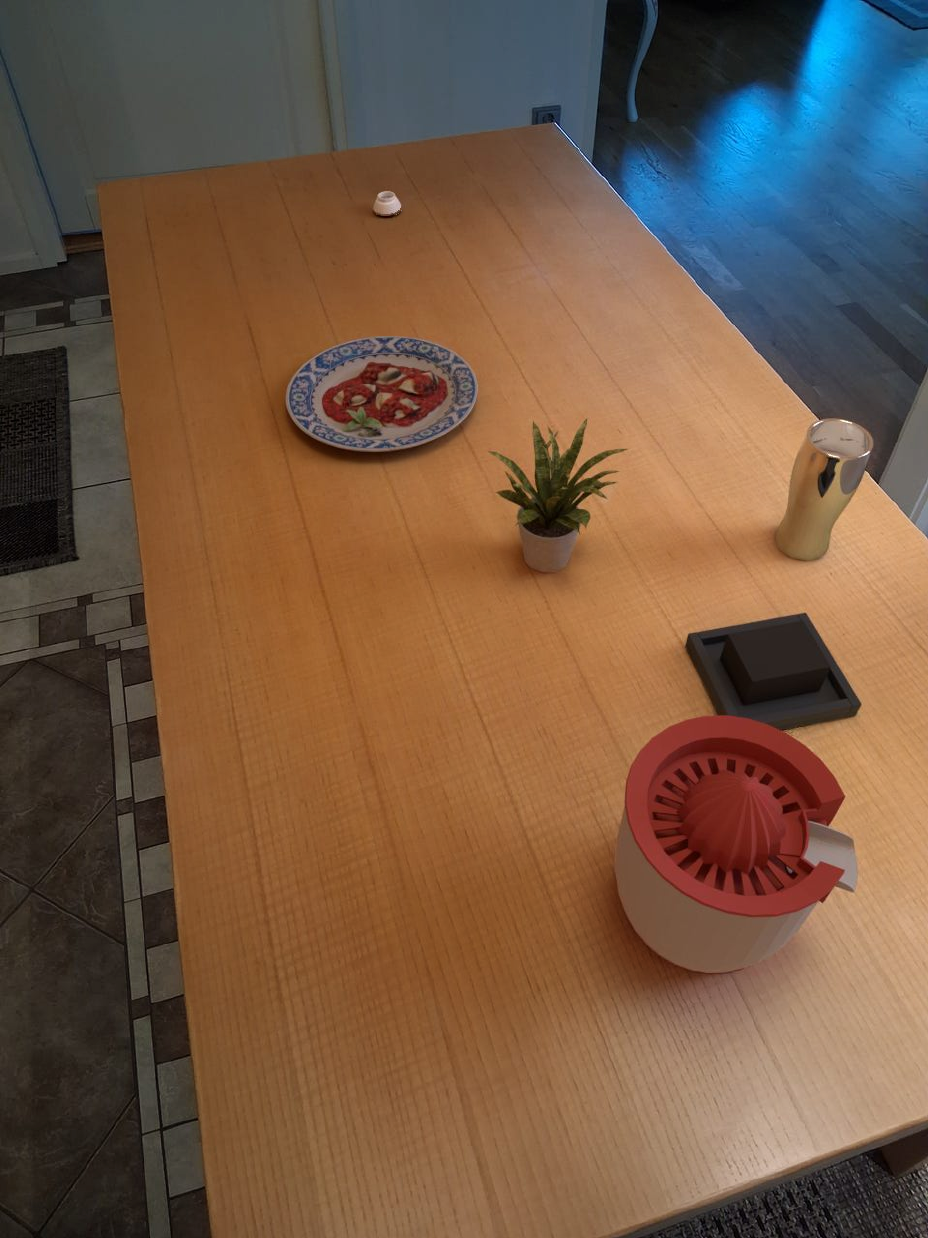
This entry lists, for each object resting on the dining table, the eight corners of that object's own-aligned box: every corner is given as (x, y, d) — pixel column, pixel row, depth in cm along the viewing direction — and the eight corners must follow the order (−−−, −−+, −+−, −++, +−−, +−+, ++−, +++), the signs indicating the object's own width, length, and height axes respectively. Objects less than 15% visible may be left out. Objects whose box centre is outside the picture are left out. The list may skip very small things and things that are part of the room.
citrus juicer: (809, 1031, 69) (901, 932, 54) (585, 971, 72) (612, 861, 57) (815, 849, 78) (894, 721, 63) (617, 803, 82) (647, 670, 67)
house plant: (646, 563, 101) (668, 449, 89) (559, 626, 95) (570, 513, 83) (556, 500, 108) (565, 386, 96) (470, 555, 103) (468, 441, 90)
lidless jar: (368, 209, 159) (381, 221, 156) (367, 192, 156) (379, 204, 154) (394, 202, 160) (406, 213, 157) (392, 185, 158) (405, 197, 155)
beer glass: (757, 538, 103) (790, 434, 92) (796, 512, 106) (833, 408, 95) (805, 573, 100) (846, 468, 88) (845, 545, 102) (890, 440, 91)
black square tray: (801, 624, 95) (806, 612, 93) (855, 716, 87) (862, 704, 86) (684, 645, 93) (688, 633, 92) (730, 740, 86) (734, 729, 84)
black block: (793, 645, 92) (803, 620, 89) (819, 691, 88) (831, 666, 85) (719, 658, 91) (727, 633, 88) (743, 706, 87) (752, 681, 84)
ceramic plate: (367, 330, 133) (365, 312, 131) (514, 385, 124) (514, 366, 121) (248, 420, 120) (243, 401, 118) (402, 489, 110) (400, 470, 108)
